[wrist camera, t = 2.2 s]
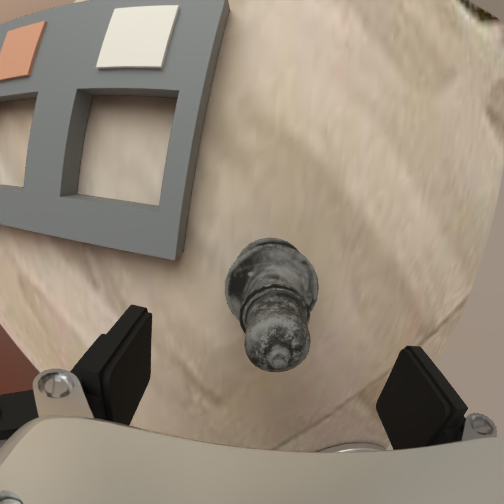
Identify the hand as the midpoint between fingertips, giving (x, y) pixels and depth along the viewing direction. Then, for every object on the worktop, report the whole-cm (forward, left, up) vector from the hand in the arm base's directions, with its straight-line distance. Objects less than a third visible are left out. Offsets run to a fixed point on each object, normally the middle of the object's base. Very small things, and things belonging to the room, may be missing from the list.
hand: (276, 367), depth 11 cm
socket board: (+9, +18, -13) cm, 24 cm away
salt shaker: (-1, 0, -13) cm, 13 cm away
